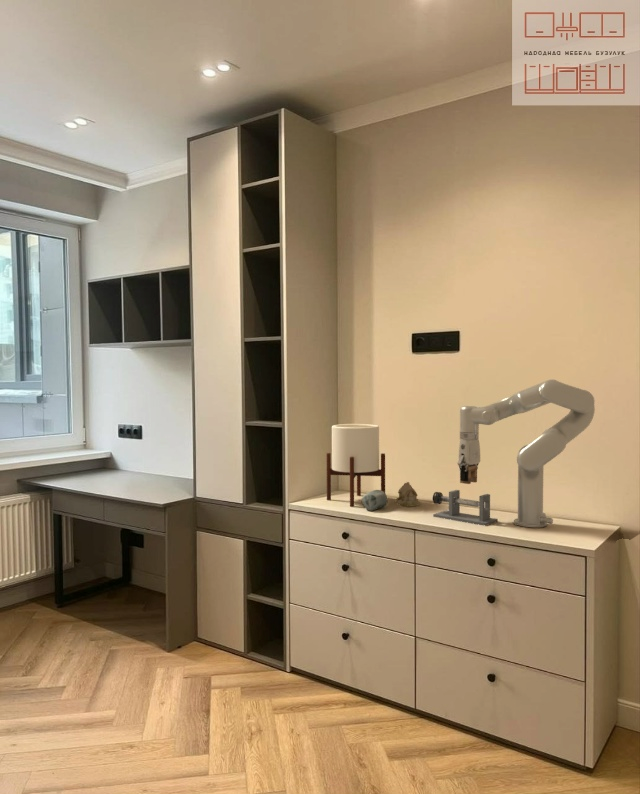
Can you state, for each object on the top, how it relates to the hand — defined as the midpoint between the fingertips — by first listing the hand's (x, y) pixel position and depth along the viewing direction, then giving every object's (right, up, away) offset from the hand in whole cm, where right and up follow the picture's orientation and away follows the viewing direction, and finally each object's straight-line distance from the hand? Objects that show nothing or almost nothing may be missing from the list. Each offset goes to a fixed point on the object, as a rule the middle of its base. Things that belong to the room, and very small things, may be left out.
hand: (468, 479), depth 254 cm
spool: (-36, -16, +23) cm, 46 cm away
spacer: (0, -1, 0) cm, 1 cm away
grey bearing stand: (-1, -16, +2) cm, 17 cm away
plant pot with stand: (-44, -16, +41) cm, 62 cm away
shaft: (-4, -12, +4) cm, 13 cm away
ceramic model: (-20, -16, +34) cm, 42 cm away
